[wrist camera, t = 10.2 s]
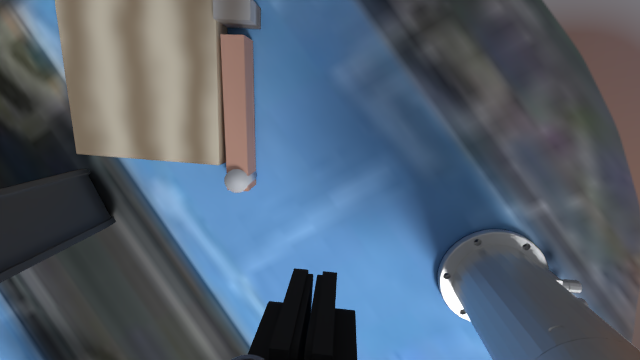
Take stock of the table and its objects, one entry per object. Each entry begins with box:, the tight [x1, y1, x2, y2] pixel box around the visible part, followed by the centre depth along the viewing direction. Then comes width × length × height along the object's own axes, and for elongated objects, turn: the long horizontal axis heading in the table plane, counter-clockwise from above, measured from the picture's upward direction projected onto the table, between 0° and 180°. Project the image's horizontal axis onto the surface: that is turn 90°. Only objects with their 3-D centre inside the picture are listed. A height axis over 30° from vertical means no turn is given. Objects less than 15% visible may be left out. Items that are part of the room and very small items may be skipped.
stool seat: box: [55, 0, 261, 165], centre depth 33 cm, size 21×18×4 cm
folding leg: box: [220, 34, 257, 193], centre depth 33 cm, size 16×3×4 cm, turn 178°
